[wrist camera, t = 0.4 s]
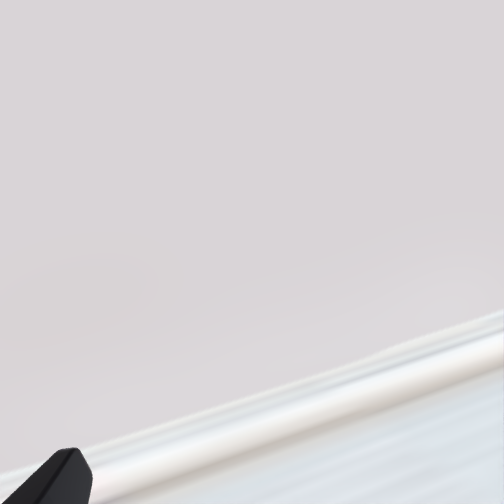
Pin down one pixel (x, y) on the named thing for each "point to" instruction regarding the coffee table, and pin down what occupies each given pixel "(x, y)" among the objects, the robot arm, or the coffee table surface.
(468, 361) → the coffee table surface
